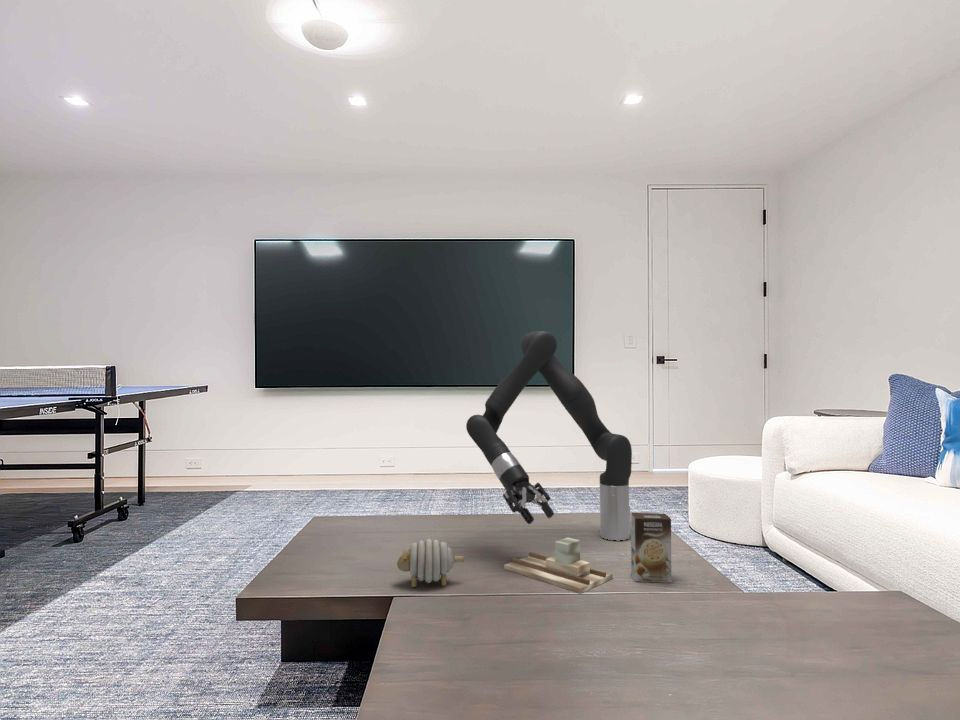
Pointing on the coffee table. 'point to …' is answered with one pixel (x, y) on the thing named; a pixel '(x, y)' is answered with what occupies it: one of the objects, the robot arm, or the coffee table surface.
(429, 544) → the toy sheep
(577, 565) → the block
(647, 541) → the coffee box
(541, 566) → the birch plank
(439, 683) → the coffee table surface
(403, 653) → the coffee table surface
